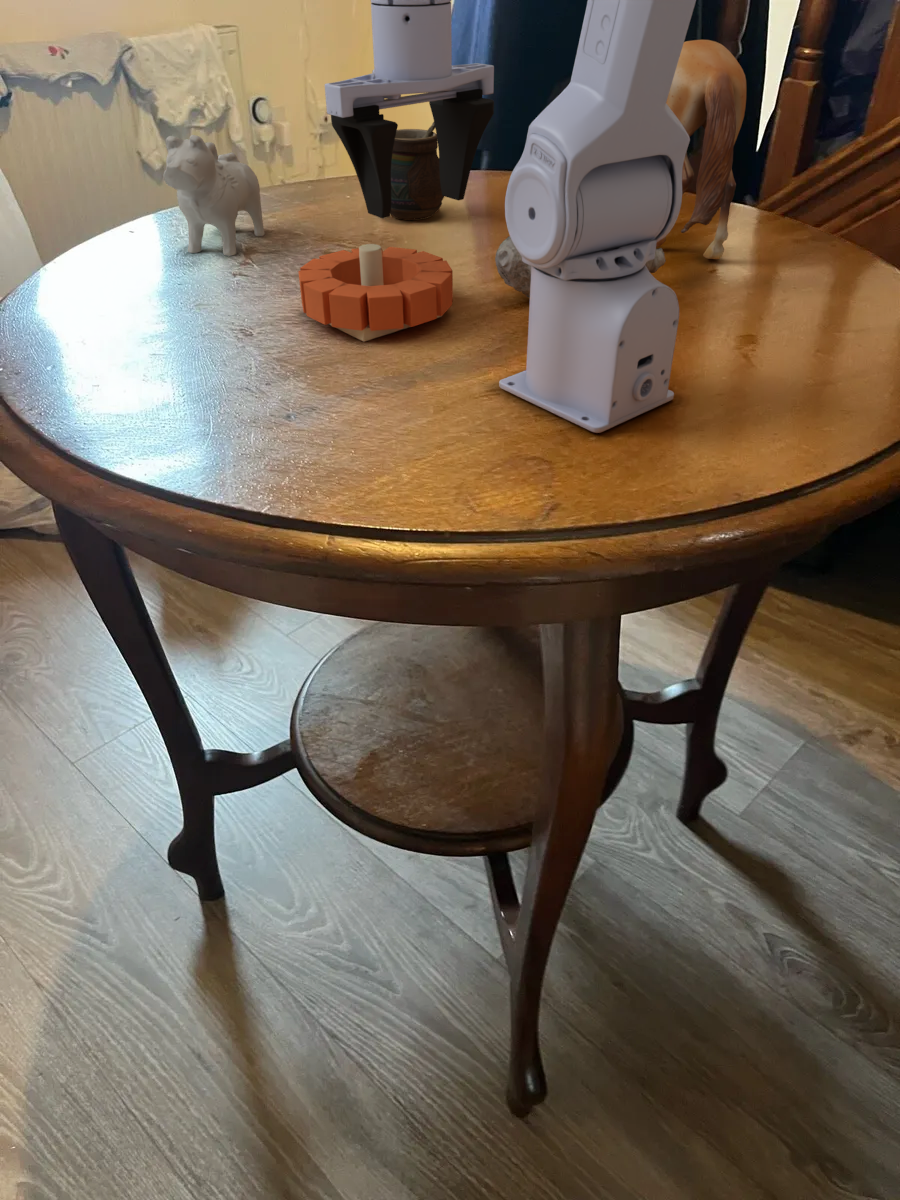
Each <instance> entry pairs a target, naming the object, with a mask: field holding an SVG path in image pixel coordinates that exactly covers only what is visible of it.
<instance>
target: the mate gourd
mask: <svg viewBox="0 0 900 1200" xmlns="http://www.w3.org/2000/svg"><path fill="white" fill-rule="evenodd" d="M435 130H436V129H435V124H434V121H433V122H432V123H431V125H430V126H429V127H428V129H421V128H400V129H397V131H396V135H395V140H394V146H393V153H392V162H391V213H390V216H392V217H393V218H395V219H399V220H404V221H416V220H418V221H419V220H425V219H428V218H431V217H433V216H434V215H435V214H436V213H437V212H438V211H439V210H440V209H441V207H442V204H443V200H444V198H445V196H442V191H441V185H440V170H439V155H438V149H439V148H438V141H437V134H436V132H434V131H435Z"/></svg>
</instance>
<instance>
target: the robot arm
mask: <svg viewBox="0 0 900 1200" xmlns="http://www.w3.org/2000/svg"><path fill="white" fill-rule="evenodd" d="M696 2H697V0H587V1H586V7H585V12H584V16H583V22H582V26H581V31H580V36H579V41H578V45H577V49H576V54H575V59H574V64H573V68H572V73H571V77H570V81H569V84H568V85H567V86H566V87H565V88H564V89H563V90H562V91H561V93H559V95H557V96H556V97H555V98H554V99H553V100H552V101H551V102H550V103H549V104H548V105H547V106H546V107H545V108H544V109H543V110H542V111H541V112H540V113H539V114H538V115H537V117H535V119H533V120H532V121H531V123H530V124H529V125H528V130H527V134H526V139H525V144H524V148H523V152H522V154H521V156H520V159H518V161H517V163H516V165H515V166H514V168H513V170H512V172H511V174H510V176H509V179H508V182H507V186H506V192H505V198H504V217H505V222H506V228H507V231H508V234H509V236H510V237H511V239H512V242H513V243H514V245H515V247H516V249H517V251H518V252H519V253H520V255H521V256H522V261H523V262H524V263H526V264H528V265H531V284H530V298H529V308H528V328H527V347H526V364H525V365H526V368H525V370H523V371H519V372H517V373H515V374H512V375H509V376H507V377H505V378H502V379H500V380H499V382H498V388H500V389H501V390H504V391H506V392H508V393H510V394H512V395H514V396H516V397H518V398H520V399H522V400H524V401H526V402H529V403H531V404H533V405H534V406H537V407H540V408H541V409H543V410H545V411H547V412H549V413H552V414H554V415H556V416H558V417H560V418H562V419H564V420H566V421H568V422H571V423H572V424H575V425H576V426H579V427H581V428H583V429H586V430H587V431H589V432H591V433H596V434H598V433H599V434H601V433H603V432H605V431H607V430H610V429H613V428H614V427H616V426H618V425H621V424H623V423H625V422H627V421H629V420H631V419H633V418H636V417H639V416H640V415H642V414H645V413H647V412H649V411H651V410H653V409H655V408H658V407H660V406H662V405H664V404H666V403H668V402H671V401H672V400H673V399H674V397H675V393H674V391H673V390H670V389H669V385H670V380H671V373H672V367H673V362H674V361H673V360H674V353H675V347H676V340H677V335H678V328H679V321H680V305H679V300H678V296H677V294H676V292H675V291H674V290H673V289H672V288H671V287H670V286H669V285H667V284H664V283H663V282H661V281H660V280H657V278H655V276H654V275H653V274H652V273H650V272H649V270H648V269H647V267H646V265H645V264H646V262H647V261H650V260H653V259H654V258H655V251H656V249H657V247H656V243H657V242H658V241H660V240H661V239H663V238H664V237H665V236H666V237H667V236H668V235H669V233H671V231H672V230H673V228H674V227H675V224H676V222H677V220H678V218H679V215H680V212H681V207H682V201H683V195H682V168H683V162H684V158H685V155H686V151H688V147H689V144H690V142H691V138H690V137H691V136H690V137H689V135H688V133H687V132H686V130H685V128H684V127H683V125H682V124H681V122H680V121H679V119H678V118H677V117H676V115H675V114H674V113H673V111H672V110H671V109H670V108H669V106H668V105H667V104H666V101H667V98H668V95H669V91H670V88H671V84H672V81H673V77H674V74H675V71H676V67H677V64H678V60H679V57H680V54H681V50H682V47H683V43H684V42H685V40H686V36H687V33H688V30H689V26H690V24H691V23H690V22H691V19H692V16H693V12H694V9H695V6H696ZM370 9H371V10H370V12H371V13H370V14H371V31H372V32H371V33H372V50H373V70H372V73H368V74H364V75H360V76H356V77H352V78H347V79H343V80H339V81H334V82H328V83H325V84H324V93H325V94H324V96H325V107H326V114H327V115H330V121H331V126H332V128H333V130H334V131H335V133H336V135H337V136H338V138H339V140H340V141H341V143H342V145H343V146H344V149H345V150H346V153H347V155H348V156H349V160H350V162H351V164H352V166H353V168H354V169H353V170H354V171H355V174H356V177H357V180H358V182H359V185H360V188H361V191H362V196H363V199H364V203H365V207H366V210H367V214H369V215H372V216H375V217H378V218H381V219H386V218H390V217H391V214H390V213H391V162H392V153H393V146H394V140H395V135H396V131H397V130H398V127H399V124H398V123H397V122H396V121H393V120H388V119H384V117H385V116H384V114H383V113H381V114H380V110H385V109H392V108H398V107H404V106H405V107H406V106H410V105H417V104H423V103H429V107H430V111H431V115H432V119H433V122H434V124H435V129H434V130H435V133H436V134H437V142H438V144H437V145H438V148H437V149H438V158H439V170H440V185H441V191H442V196H444V198H445V197H446V198H449V199H452V200H455V201H462V200H464V198H465V195H466V191H467V186H468V182H469V178H470V174H471V170H472V167H473V162H474V159H475V155H476V152H477V149H478V146H479V144H480V141H481V139H482V137H483V135H484V132H485V130H486V128H487V127H488V124H489V123H490V121H491V119H492V118H493V116H494V114H495V101H494V100H493V99H490V98H486V97H483V96H488V95H493V94H494V89H495V87H494V84H495V83H494V82H495V66H494V65H492V64H485V63H479V62H476V63H467V64H455V65H453V64H452V63H453V62H452V61H453V58H452V57H453V56H452V54H453V53H452V52H453V51H452V49H453V48H452V45H453V44H452V43H453V41H452V36H453V35H452V0H370ZM402 95H404V96H402Z"/></svg>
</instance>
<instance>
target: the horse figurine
mask: <svg viewBox="0 0 900 1200" xmlns="http://www.w3.org/2000/svg"><path fill="white" fill-rule="evenodd" d="M666 104H667V105H668V106H669V108H670V109H671V110H672V111H673V113H674V114H675V115H676V117H677V118H678V119H679V121H680V122H681V124H682V125H683V127H684V128H685V130H686V132H687V133H688V135H689V137H692V136H693V135H694V133H695V132H696V131H698V129H700V128H701V127H702V128H703V129H704V134H703V140H702V153H701V158H700V165H699V169H698V173H697V177H696V185H695V187H696V188H695V189H696V190H695V192H696V193H695V203H694V207H693V211H692V214H691V216H690V219H688V221H687V222H686V223H685V224H684V226H683V228H682V229H680V230H681V231H680V232H681V233H682V234H684V233H686V232H688V231H689V230H690V229H691V228H692V227H693V226H695V225H696V224H700V225H704V226H707V225H710V223H711V221H712V220H713V218H714V217H715V215H716V214H717V213H718V211H719V217H718V218H719V220H718V225H717V228H716V231H715V236H714V239H713V240H712V241H711V242H710V243H709V245H708V246H707V248H706V249H705V251H704V252H703V253H702V256H703V257H704V258H705V259H708V260H720V259H721V258H722V257H723V255H724V251H725V248H724V245H723V244H724V243H725V241H727V239H728V237H729V231H728V223H729V216H730V210H731V209H730V208H731V204H732V201H733V199H734V196H735V191H736V189H737V188H736V187H737V183H736V179H735V178H734V173H733V169H732V168H733V162H734V147H735V144H736V141H737V139H738V136H739V134H740V130H741V128H742V124H743V121H744V118H745V112H746V105H747V78H746V74H745V72H744V69H743V68H742V66H741V65H740V63H739V62H738V60H737V58H736V57H735V56H734V55H733V53H732V52H731V51H730V50H729V49H728V48H727V47H726V46H724V45H723V44H722V43H719V42H717V41H715V40H710V39H694V40H687V41H684V43H683V47H682V50H681V54H680V57H679V60H678V64H677V67H676V71H675V74H674V77H673V81H672V84H671V88H670V91H669V95H668V98H667V101H666ZM687 151H688V150H687ZM687 151H686V155H685V158H684V162H683V168H682V196H683V195H684V193H686V191H687V190H688V189H689V187H690V186H691V185H692V183H693V180H694V177H695V171H694V169H693V167H692V165H691V163H690V159H689V157H688V152H687ZM719 209H720V210H719ZM666 240H667V235H666V236H665V237H664V238H663V239H661V240H660V241H658V242H657V243H656V248H660V247H661V246H662V245H663V244H664V243H665V242H666Z"/></svg>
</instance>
